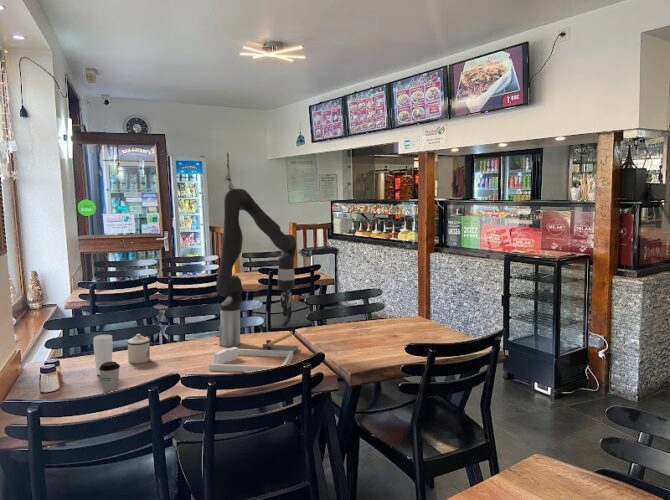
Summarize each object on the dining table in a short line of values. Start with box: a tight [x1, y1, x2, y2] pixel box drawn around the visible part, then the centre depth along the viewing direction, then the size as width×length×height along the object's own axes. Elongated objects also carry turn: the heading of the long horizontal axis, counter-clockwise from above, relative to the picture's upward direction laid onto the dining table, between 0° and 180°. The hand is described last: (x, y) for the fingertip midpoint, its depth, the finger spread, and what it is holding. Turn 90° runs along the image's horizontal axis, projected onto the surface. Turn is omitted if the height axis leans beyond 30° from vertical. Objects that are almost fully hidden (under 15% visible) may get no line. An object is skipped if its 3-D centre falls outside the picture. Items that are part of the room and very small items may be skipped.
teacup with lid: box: [127, 333, 151, 365], centre depth 209 cm, size 12×9×12 cm
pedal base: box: [260, 339, 299, 356], centre depth 224 cm, size 16×8×4 cm, turn 84°
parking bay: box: [208, 347, 294, 372], centre depth 207 cm, size 31×22×2 cm
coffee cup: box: [99, 360, 121, 394], centre depth 175 cm, size 7×7×10 cm
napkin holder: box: [213, 346, 239, 364], centre depth 209 cm, size 15×11×6 cm
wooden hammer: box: [267, 330, 294, 347], centre depth 224 cm, size 14×5×1 cm, turn 84°
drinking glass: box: [93, 334, 114, 376], centre depth 192 cm, size 7×7×15 cm
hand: (286, 315), depth 222 cm, fingers closed
